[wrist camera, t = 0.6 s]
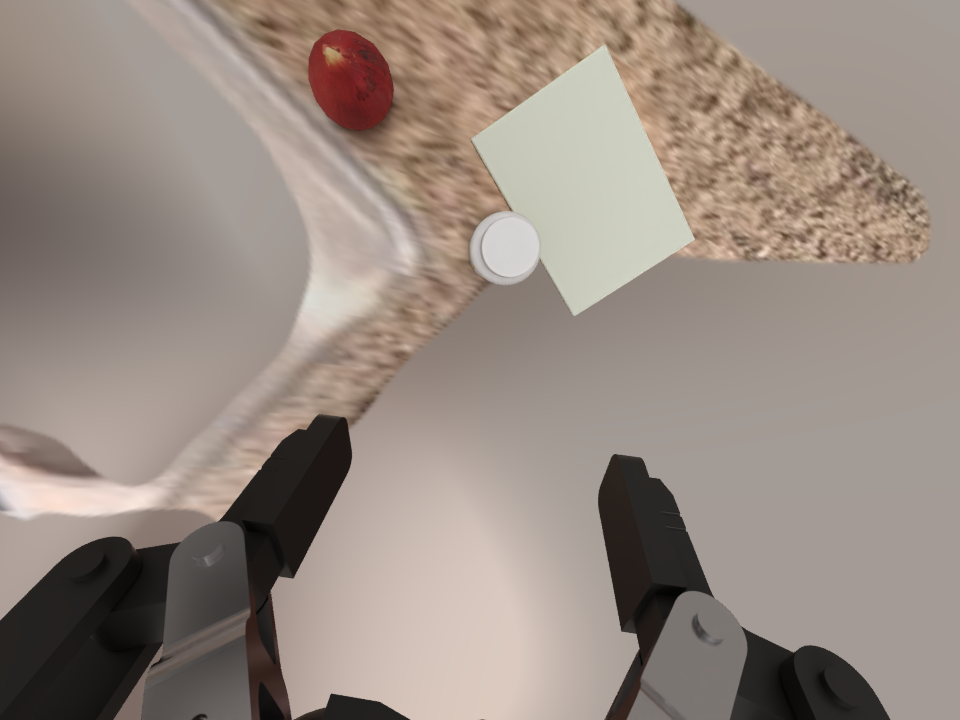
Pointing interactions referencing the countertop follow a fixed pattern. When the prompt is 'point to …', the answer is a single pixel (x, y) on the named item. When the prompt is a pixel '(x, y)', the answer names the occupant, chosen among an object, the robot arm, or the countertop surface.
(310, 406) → the countertop surface
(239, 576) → the robot arm
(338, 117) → the onion
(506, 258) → the supplement bottle
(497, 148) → the mat
